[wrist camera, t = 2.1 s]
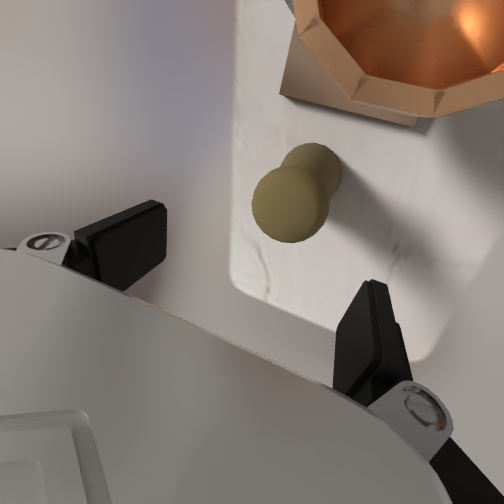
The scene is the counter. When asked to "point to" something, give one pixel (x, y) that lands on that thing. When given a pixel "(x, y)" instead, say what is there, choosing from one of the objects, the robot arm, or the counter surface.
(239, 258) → the counter surface
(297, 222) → the cork
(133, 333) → the robot arm
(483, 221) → the counter surface
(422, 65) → the cup bracket
